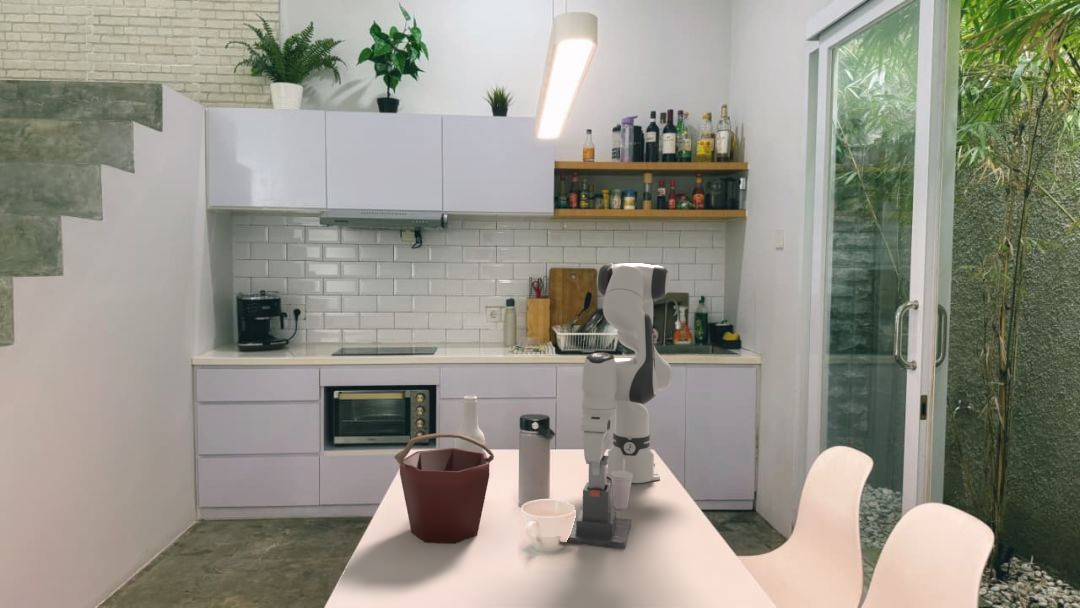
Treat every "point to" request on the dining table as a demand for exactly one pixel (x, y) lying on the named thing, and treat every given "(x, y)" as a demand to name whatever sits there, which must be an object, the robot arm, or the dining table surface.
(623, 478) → the smoothie
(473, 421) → the white bottle
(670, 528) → the dining table surface
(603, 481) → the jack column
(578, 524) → the base
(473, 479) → the bucket
